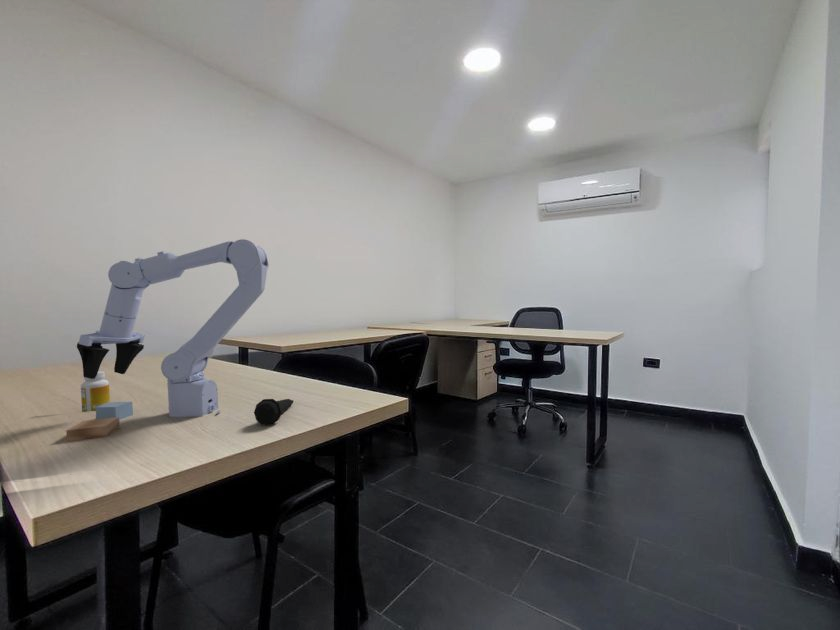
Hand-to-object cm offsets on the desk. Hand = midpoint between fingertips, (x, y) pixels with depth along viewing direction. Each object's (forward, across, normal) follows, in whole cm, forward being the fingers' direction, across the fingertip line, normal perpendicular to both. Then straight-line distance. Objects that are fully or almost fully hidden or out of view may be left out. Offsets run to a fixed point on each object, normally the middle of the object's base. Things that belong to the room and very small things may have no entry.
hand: (104, 375), depth 85 cm
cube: (+10, 0, +5) cm, 11 cm away
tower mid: (+8, +10, +9) cm, 16 cm away
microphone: (+1, -7, +38) cm, 39 cm away
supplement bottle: (+13, -11, -9) cm, 19 cm away
